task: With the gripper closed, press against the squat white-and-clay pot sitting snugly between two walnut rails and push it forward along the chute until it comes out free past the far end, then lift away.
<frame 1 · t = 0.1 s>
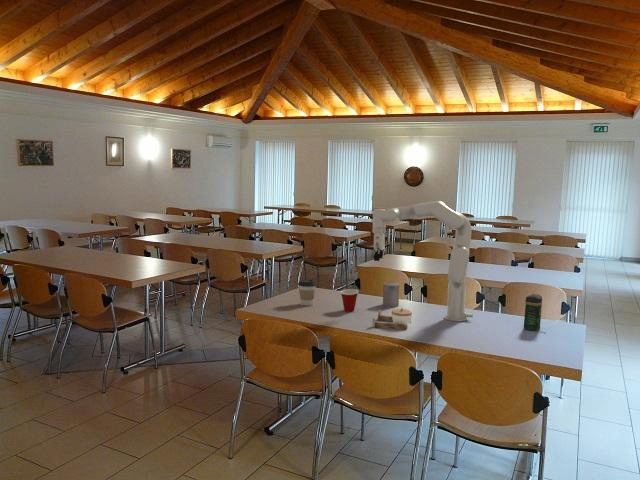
hand: (378, 259, 322), 31 cm above the table, tool pointing down, fingers open, 9 cm apart
plastic cup: (348, 311, 328), on the table
coffee jar: (532, 329, 296), on the table
pillar candle: (390, 305, 343), on the table
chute: (392, 324, 300), on the table
coffee cup: (306, 304, 342), on the table
lidded jar: (401, 325, 298), on the table
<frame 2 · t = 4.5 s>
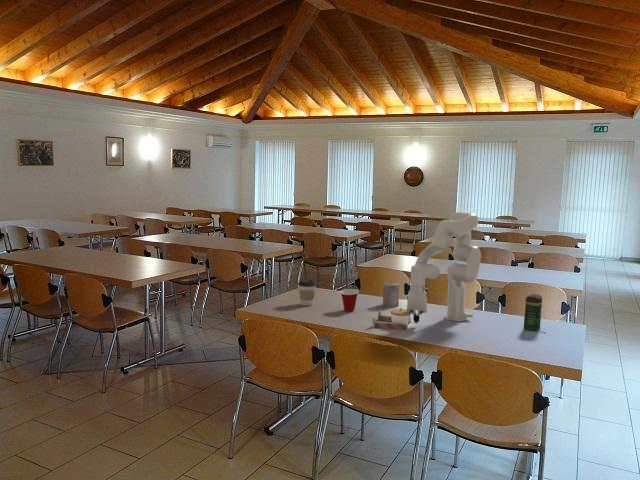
hand: (416, 322, 296), 2 cm above the table, tool pointing down, fingers closed
lidded jar: (400, 325, 299), on the table, touching gripper
everything else where it was.
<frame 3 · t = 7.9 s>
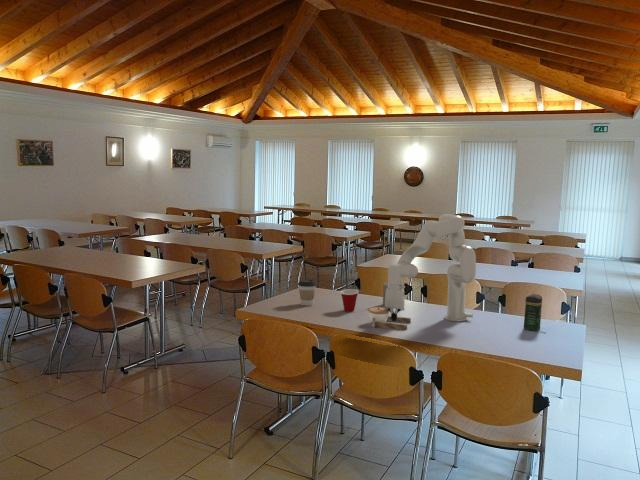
hand: (393, 320, 299), 2 cm above the table, tool pointing down, fingers closed
lidded jar: (378, 323, 301), on the table, touching gripper
everything else where it was.
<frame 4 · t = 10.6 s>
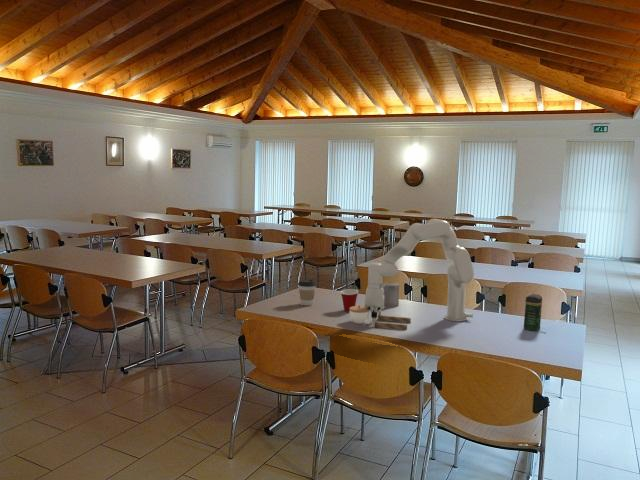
hand: (374, 318, 302), 2 cm above the table, tool pointing down, fingers closed
lidded jar: (358, 322, 304), on the table, touching gripper
everything else where it was.
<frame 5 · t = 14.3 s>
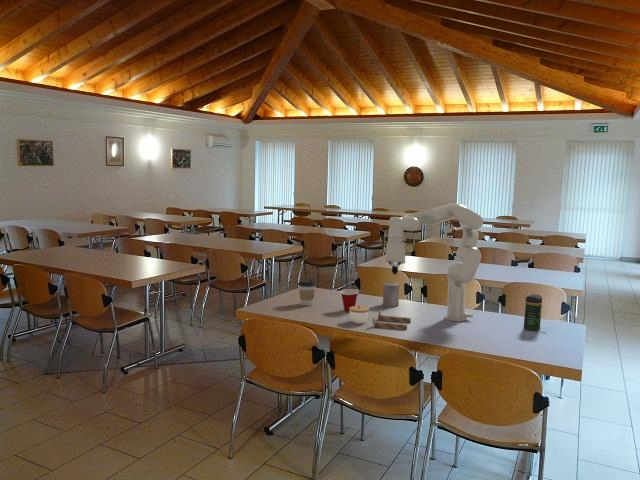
hand: (394, 273, 300), 27 cm above the table, tool pointing down, fingers closed
lidded jar: (358, 322, 304), on the table
everything else where it was.
at the end: lidded jar inside the target area (3.0 cm from its centre), on the table; lidded jar tilted 0°; lidded jar moved 23.1 cm from its start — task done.
